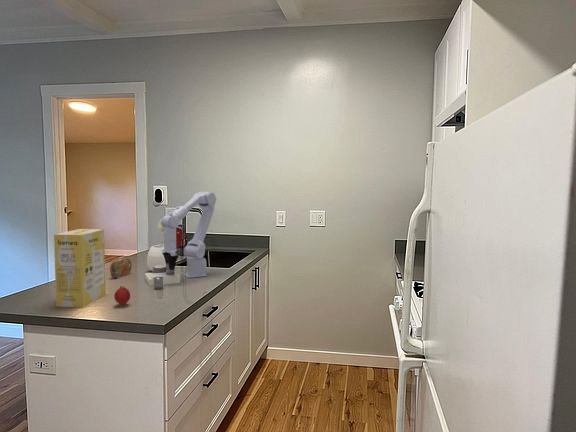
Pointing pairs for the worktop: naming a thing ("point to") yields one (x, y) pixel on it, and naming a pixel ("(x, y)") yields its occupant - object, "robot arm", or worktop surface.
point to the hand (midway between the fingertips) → (170, 268)
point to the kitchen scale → (161, 272)
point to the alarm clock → (179, 236)
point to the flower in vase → (162, 230)
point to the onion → (122, 295)
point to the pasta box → (79, 267)
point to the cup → (155, 257)
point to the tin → (120, 268)
